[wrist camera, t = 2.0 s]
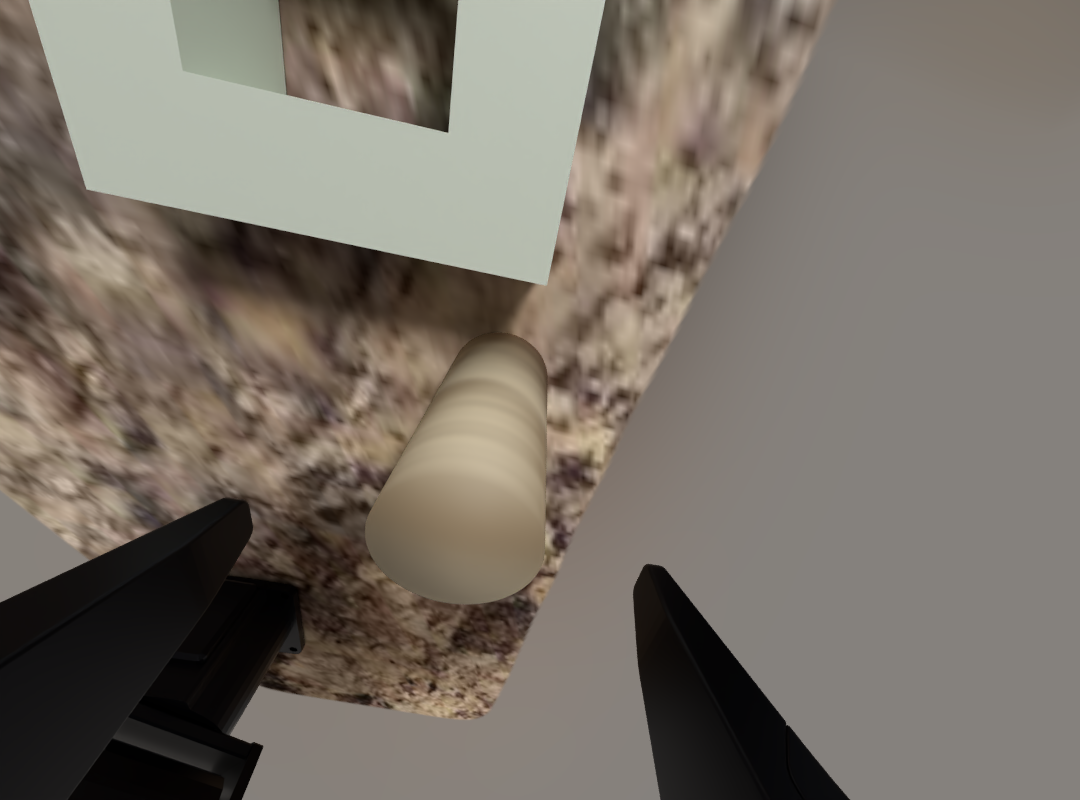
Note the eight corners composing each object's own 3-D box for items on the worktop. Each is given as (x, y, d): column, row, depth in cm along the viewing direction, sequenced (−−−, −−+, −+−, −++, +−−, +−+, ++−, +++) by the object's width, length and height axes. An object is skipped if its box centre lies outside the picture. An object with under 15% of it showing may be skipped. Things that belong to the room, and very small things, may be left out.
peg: (537, 425, 18) (527, 614, 10) (449, 409, 18) (365, 591, 10) (556, 343, 16) (563, 495, 8) (458, 323, 16) (363, 460, 8)
